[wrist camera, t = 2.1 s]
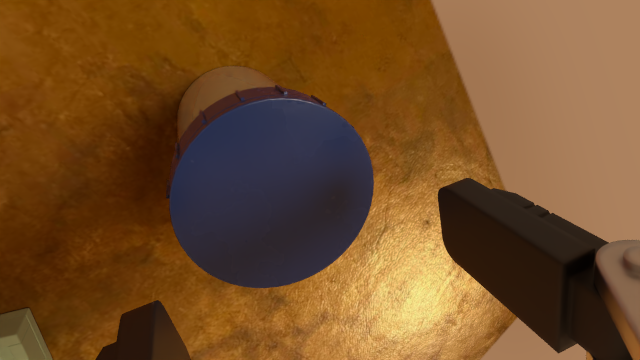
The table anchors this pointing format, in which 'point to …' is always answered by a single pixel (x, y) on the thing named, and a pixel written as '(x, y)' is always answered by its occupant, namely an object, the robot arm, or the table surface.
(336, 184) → the lid
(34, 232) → the table surface
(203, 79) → the jar
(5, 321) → the tray
